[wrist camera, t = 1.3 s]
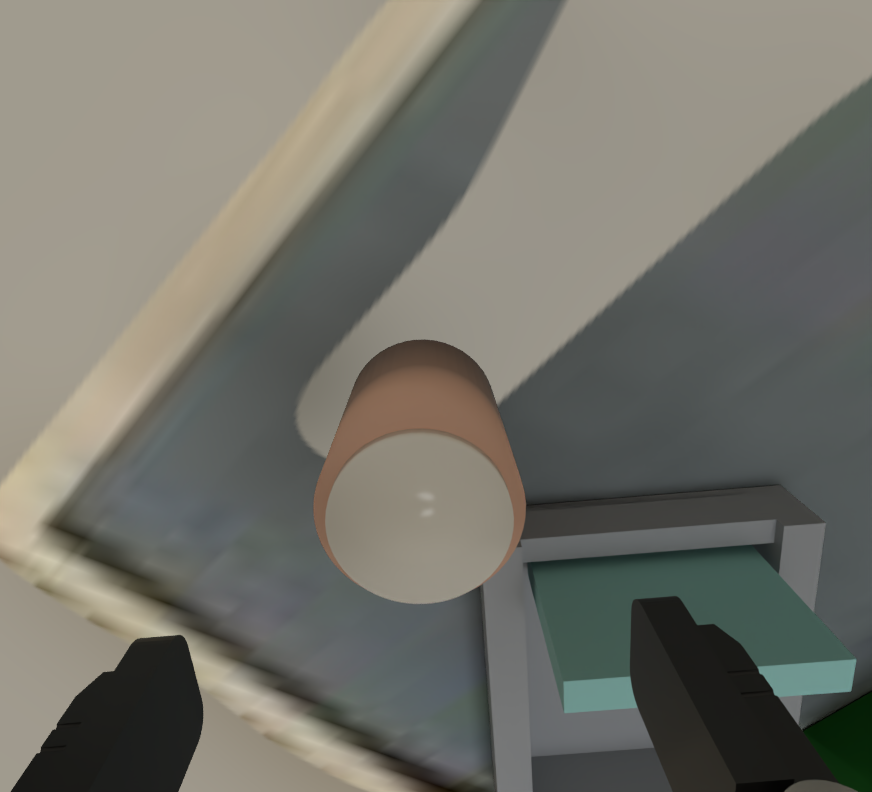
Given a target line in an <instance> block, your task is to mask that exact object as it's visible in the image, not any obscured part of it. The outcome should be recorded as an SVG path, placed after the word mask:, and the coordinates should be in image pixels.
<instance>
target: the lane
mask: <svg viewBox="0 0 872 792" xmlns="http://www.w3.org/2000/svg"><path fill="white" fill-rule="evenodd" d="M825 527H826V523H825V522H824V521H823V520H822V519H821V518H819V517H818V516H817V515H816V514H815V513H813V512H812V511H811V510H810V509H809V508H807V507H806V506H805V505H804V504H803V503H801V502H800V501H799V500H798V499H797V498H795V497H794V496H793V495H792V494H791V493H789V492H788V491H787V490H786V489H785V488H783V487H782V486H781V485H775V486H763V487H751V488H738V489H726V490H713V491H701V492H689V493H676V494H664V495H651V496H639V497H627V498H614V499H602V500H589V501H577V502H565V503H552V504H540V505H527V506H526V517H525V523H524V528H523V531H522V534H521V537H520V540H519V543H518V545H517V547H516V549H515V551H514V552H513V554H512V555H511V557H510V558H509V560H508V561H507V562H506V564H505V565H504V566H503V567H502V568H501V569H500V570H499V571H498V572H497V573H496V574H495V575H494V576H493V577H491V578H490V579H489V580H488V581H486V582H485V583H483V584H482V585H480V592H481V606H482V620H483V634H484V648H485V662H486V676H487V690H488V705H489V719H490V733H491V747H492V761H493V775H494V786H495V792H673V791H672V789H671V786H670V784H669V782H668V779H667V777H666V774H665V772H664V770H663V767H662V765H661V762H660V760H659V758H658V755H657V753H656V750H655V748H654V746H653V743H652V741H651V739H650V736H649V734H648V731H647V729H646V727H645V724H644V722H643V719H642V717H641V715H640V712H639V710H638V708H628V709H615V710H602V711H589V712H575V713H564V711H563V707H562V703H561V699H560V696H559V692H558V688H557V684H556V680H555V677H554V673H553V669H552V665H551V661H550V657H549V654H548V650H547V646H546V642H545V638H544V635H543V631H542V627H541V623H540V619H539V616H538V612H537V608H536V604H535V600H534V597H533V593H532V589H531V585H530V581H529V577H528V566H527V562H538V561H551V560H563V559H576V558H589V557H601V556H614V555H626V554H639V553H652V552H664V551H677V550H689V549H702V548H714V547H727V546H740V545H752V546H753V547H754V548H755V549H756V550H757V551H758V552H759V554H760V555H761V556H762V557H763V558H764V559H765V560H766V561H767V562H768V563H769V564H770V565H771V567H772V568H773V569H774V570H775V571H776V572H777V573H778V574H779V575H780V576H781V577H782V579H783V580H784V581H785V582H786V583H787V584H788V585H789V586H790V587H791V588H792V589H793V591H794V592H795V593H796V594H797V595H798V596H799V597H800V598H801V599H802V600H803V601H804V603H805V604H806V605H807V606H808V607H809V608H810V609H811V610H812V611H813V612H814V607H815V600H816V593H817V585H818V578H819V571H820V563H821V556H822V549H823V541H824V534H825ZM779 699H780V700H781V701H782V703H783V704H784V706H785V707H786V709H787V710H788V711H789V713H790V714H791V716H792V717H793V718H794V720H795V721H796V723H797V724H798V725H799V717H800V710H801V703H802V695H799V696H786V697H779Z"/></svg>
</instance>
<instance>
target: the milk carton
mask: <svg viewBox="0 0 872 792" xmlns="http://www.w3.org/2000/svg"><path fill="white" fill-rule="evenodd" d="M803 732H804V734H805V736H806V737H807V738H808V740H809V741H810V743H811V744H812V745H813V747H814V748H815V750H816V751H817V753H818V754H819V755H820V757H821V758H822V760H823V761H824V763H825V764H826V765H827V767H828V768H829V770H830V771H831V772H832V774H833V775H834V777H835V778H836V779H837V781H838V782H839V783H840V784H841V785H844V786H847V787H849V788H852V789H854V790H856V791H858V792H872V692H870V693H869V694H867V695H865V696H863V697H862V698H860V699H858V700H856V701H855V702H853V703H851V704H849V705H848V706H846V707H844V708H843V709H841V710H839V711H837V712H836V713H834V714H832V715H830V716H829V717H827V718H825V719H823V720H822V721H820V722H818V723H816V724H815V725H813V726H811V727H809V728H808V729H806V730H804V731H803Z"/></svg>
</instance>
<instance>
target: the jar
mask: <svg viewBox="0 0 872 792" xmlns="http://www.w3.org/2000/svg"><path fill="white" fill-rule="evenodd" d="M313 510H314V521H315V526H316V530H317V534H318V536H319V539H320V541H321V544H322V546H323V548H324V549H325V551H326V553H327V555H328V556H329V558H330V559H331V560H332V561H333V563H334V564H335V565H336V567H337V568H338V569H339V570H340V571H341V572H342V573H343V574H344V575H346V576H347V577H348V578H350V579H351V580H352V581H353V582H355V583H356V584H358V585H360V586H361V587H363V588H365V589H366V590H368V591H370V592H372V593H374V594H376V595H378V596H380V597H383V598H386V599H389V600H392V601H397V602H402V603H410V604H430V603H437V602H442V601H446V600H450V599H453V598H456V597H458V596H461V595H463V594H465V593H467V592H469V591H471V590H473V589H475V588H477V587H479V586H480V585H482V584H483V583H485V582H486V581H488V580H489V579H490V578H491V577H493V576H494V575H495V574H496V573H497V572H498V571H499V570H500V569H501V568H502V567H503V566H504V565H505V564H506V562H507V561H508V560H509V558H510V557H511V555H512V554H513V552H514V551H515V549H516V547H517V545H518V543H519V540H520V537H521V534H522V531H523V528H524V523H525V517H526V501H525V492H524V488H523V485H522V481H521V478H520V475H519V472H518V468H517V465H516V462H515V459H514V456H513V453H512V450H511V447H510V444H509V441H508V438H507V435H506V432H505V429H504V425H503V422H502V419H501V416H500V413H499V410H498V407H497V404H496V401H495V398H494V395H493V392H492V389H491V386H490V384H489V381H488V379H487V377H486V375H485V374H484V372H483V370H482V369H481V368H480V367H479V365H478V364H477V363H476V362H475V361H474V360H473V359H472V358H470V356H468V355H467V354H465V353H464V352H463V351H461V350H459V349H457V348H455V347H453V346H451V345H448V344H446V343H442V342H438V341H433V340H412V341H406V342H403V343H398V344H396V345H393V346H391V347H389V348H387V349H385V350H383V351H382V352H380V353H379V354H377V355H376V356H375V357H373V359H371V360H370V361H369V362H368V363H367V364H366V365H365V367H364V368H363V370H362V371H361V373H360V374H359V376H358V378H357V380H356V382H355V384H354V387H353V390H352V392H351V395H350V398H349V400H348V403H347V405H346V408H345V411H344V414H343V416H342V419H341V421H340V424H339V426H338V429H337V432H336V434H335V437H334V440H333V442H332V445H331V448H330V450H329V453H328V456H327V458H326V461H325V463H324V466H323V469H322V471H321V474H320V477H319V479H318V482H317V485H316V490H315V495H314V507H313Z"/></svg>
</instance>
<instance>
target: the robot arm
mask: <svg viewBox="0 0 872 792" xmlns="http://www.w3.org/2000/svg"><path fill="white" fill-rule="evenodd" d="M630 678H631V685H632V690H633V694H634V698H635V701H636V705H637V707H638V710H639V712H640V715H641V717H642V719H643V722H644V724H645V727H646V729H647V731H648V734H649V736H650V739H651V741H652V743H653V746H654V748H655V750H656V753H657V755H658V758H659V760H660V762H661V765H662V767H663V770H664V772H665V774H666V777H667V779H668V782H669V784H670V786H671V789H672V791H673V792H858V791H856V790H854V789H852V788H849V787H847V786H844V785H841V784H840V783H839V782H838V781H837V779H836V778H835V777H834V775H833V774H832V772H831V771H830V770H829V768H828V767H827V765H826V764H825V763H824V761H823V760H822V758H821V757H820V755H819V754H818V753H817V751H816V750H815V748H814V747H813V745H812V744H811V743H810V741H809V740H808V738H807V737H806V736H805V734H804V733H803V731H802V730H801V728H800V727H799V726H798V724H797V723H796V721H795V720H794V718H793V717H792V716H791V714H790V713H789V711H788V710H787V709H786V707H785V706H784V704H783V703H782V701H781V700H780V699H779V697H778V696H775V695H774V691H773V689H772V687H771V686H770V684H769V683H768V682H767V680H766V679H765V677H764V676H763V674H760V673H759V669H758V667H757V666H756V665H755V663H754V662H753V660H752V659H751V657H750V656H749V655H748V653H747V652H746V650H745V649H744V647H743V646H742V645H741V644H740V643H739V642H738V641H736V640H735V639H734V638H732V637H731V636H730V635H728V634H727V633H726V632H724V631H723V630H722V629H720V628H719V627H718V626H716V625H715V624H706V625H697V624H696V622H695V621H694V619H693V618H692V616H691V614H690V613H689V611H688V610H687V608H686V607H685V605H684V603H683V602H682V601H681V599H680V598H679V597H677V596H668V597H656V598H644V599H635V600H633V602H632V607H631V639H630ZM202 724H203V704H202V698H201V695H200V691H199V687H198V683H197V679H196V675H195V671H194V667H193V663H192V660H191V656H190V652H189V648H188V644H187V642H186V640H185V638H184V637H183V636H181V635H175V636H163V637H151V638H140V639H137V640H135V641H134V642H133V643H132V644H131V646H130V647H129V649H128V650H127V652H126V654H125V655H124V657H123V658H122V660H121V661H120V663H119V664H118V666H117V667H116V669H115V671H111V672H103V673H102V674H101V675H100V676H99V677H98V678H96V679H95V680H94V681H93V682H92V683H91V684H89V685H88V686H87V687H86V688H85V689H84V690H83V691H82V692H81V693H79V694H78V695H77V696H76V697H75V699H74V700H73V701H72V703H71V704H70V706H69V707H68V709H67V710H66V712H65V713H64V714H63V716H62V717H61V719H60V720H59V722H58V723H57V728H56V730H52V732H51V734H50V735H49V736H48V738H47V739H46V741H45V742H44V744H43V745H42V747H41V752H40V753H37V754H36V755H35V757H34V758H33V760H32V761H31V763H30V764H29V766H28V767H27V768H26V770H25V771H24V773H23V774H22V776H21V777H20V779H19V780H18V782H17V783H16V785H15V786H14V787H13V789H12V791H11V792H178V791H179V788H180V786H181V784H182V781H183V779H184V776H185V774H186V771H187V769H188V766H189V764H190V761H191V759H192V757H193V754H194V752H195V749H196V747H197V744H198V742H199V739H200V735H201V730H202Z"/></svg>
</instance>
